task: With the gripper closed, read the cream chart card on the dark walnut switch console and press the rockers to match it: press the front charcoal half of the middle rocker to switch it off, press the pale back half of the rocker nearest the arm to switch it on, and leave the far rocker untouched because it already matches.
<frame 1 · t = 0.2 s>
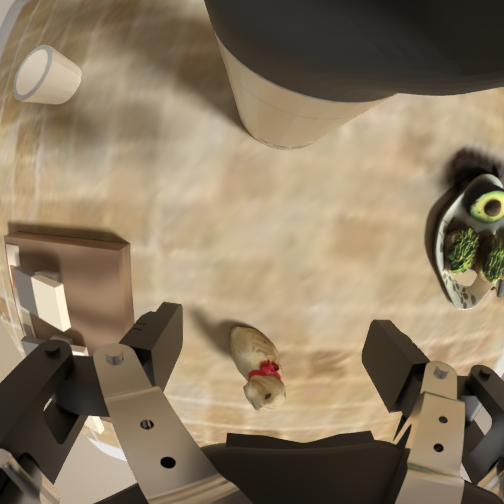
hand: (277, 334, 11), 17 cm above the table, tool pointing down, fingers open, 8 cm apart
chocolate bunny: (256, 349, 31), on the table
white tapered cup: (65, 84, 23), on the table
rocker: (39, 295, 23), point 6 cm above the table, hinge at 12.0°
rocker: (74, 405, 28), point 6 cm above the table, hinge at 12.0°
salad plate: (475, 237, 27), on the table
rocker mid: (57, 359, 26), point 6 cm above the table, hinge at -12.0°
switch console: (77, 336, 31), on the table
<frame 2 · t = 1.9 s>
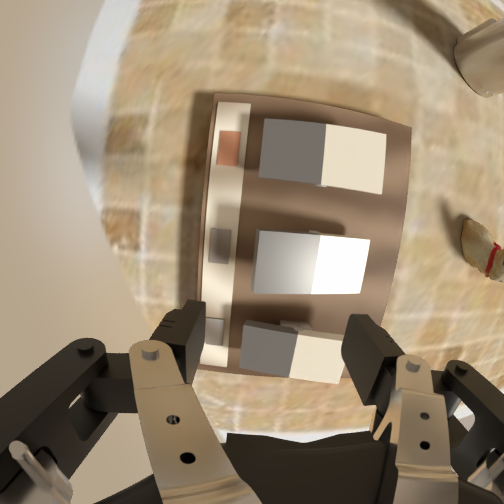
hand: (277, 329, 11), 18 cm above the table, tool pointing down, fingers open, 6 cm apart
chocolate bunny: (472, 245, 28), on the table
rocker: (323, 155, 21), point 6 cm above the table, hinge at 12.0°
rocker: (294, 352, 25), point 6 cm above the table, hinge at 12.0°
rocker mid: (312, 262, 23), point 6 cm above the table, hinge at -12.0°
switch console: (300, 247, 28), on the table
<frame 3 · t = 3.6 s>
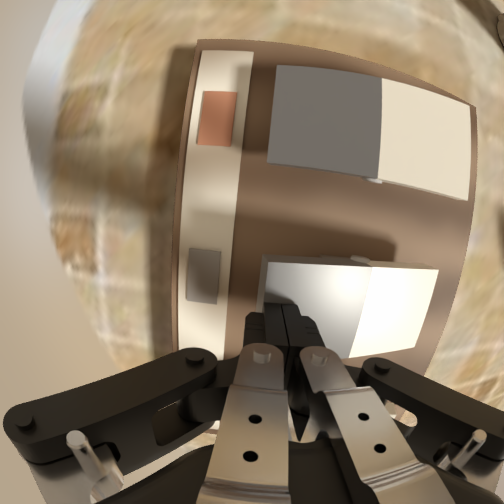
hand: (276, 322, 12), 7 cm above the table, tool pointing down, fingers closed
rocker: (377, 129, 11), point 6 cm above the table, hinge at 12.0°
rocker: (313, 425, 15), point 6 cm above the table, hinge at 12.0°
rocker mid: (353, 308, 13), point 6 cm above the table, hinge at -10.7°, touching gripper
switch console: (326, 273, 19), on the table
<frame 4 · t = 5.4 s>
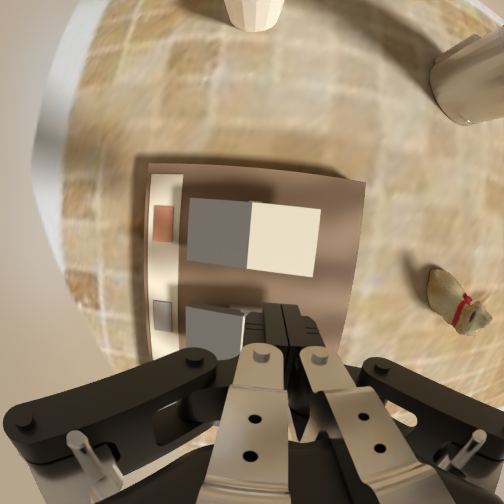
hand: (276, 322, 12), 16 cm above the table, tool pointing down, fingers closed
chocolate bunny: (440, 293, 29), on the table
white tapered cup: (253, 16, 22), on the table
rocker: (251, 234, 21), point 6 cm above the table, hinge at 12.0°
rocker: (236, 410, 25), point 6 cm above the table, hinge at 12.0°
rocker mid: (243, 338, 23), point 6 cm above the table, hinge at 11.0°
switch console: (245, 311, 29), on the table
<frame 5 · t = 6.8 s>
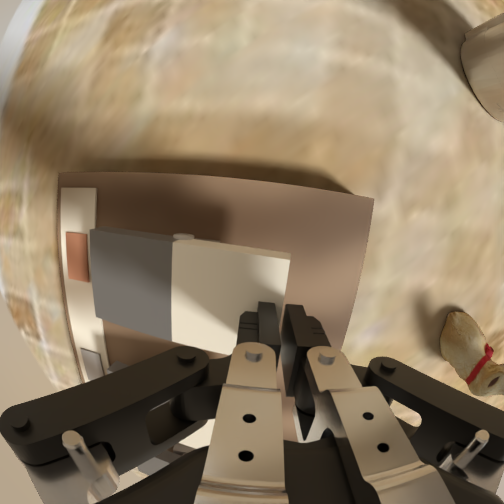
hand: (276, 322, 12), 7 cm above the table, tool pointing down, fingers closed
chocolate bunny: (455, 339, 21), on the table
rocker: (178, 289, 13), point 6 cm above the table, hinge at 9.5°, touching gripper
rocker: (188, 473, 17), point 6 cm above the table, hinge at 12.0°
rocker mid: (182, 414, 15), point 6 cm above the table, hinge at 11.5°
switch console: (197, 364, 21), on the table
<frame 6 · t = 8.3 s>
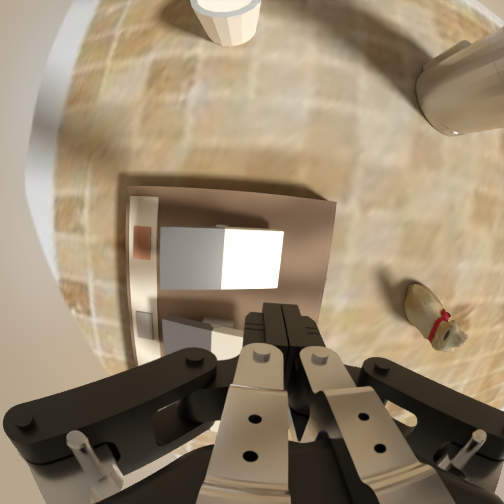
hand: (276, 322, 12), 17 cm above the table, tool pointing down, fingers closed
chocolate bunny: (419, 307, 30), on the table
white tapered cup: (231, 29, 23), on the table
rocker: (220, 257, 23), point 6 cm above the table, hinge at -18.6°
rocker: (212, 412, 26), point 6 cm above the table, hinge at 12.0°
rocker mid: (214, 349, 25), point 6 cm above the table, hinge at 11.5°
switch console: (221, 322, 30), on the table
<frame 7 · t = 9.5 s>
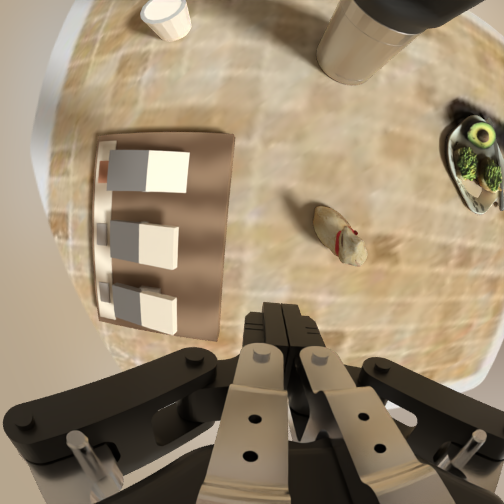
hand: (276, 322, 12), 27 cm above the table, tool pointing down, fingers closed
chocolate bunny: (332, 231, 38), on the table
white tapered cup: (174, 29, 31), on the table
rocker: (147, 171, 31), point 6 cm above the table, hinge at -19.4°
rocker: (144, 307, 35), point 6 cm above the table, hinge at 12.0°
salad plate: (474, 160, 35), on the table
rocker mid: (142, 242, 33), point 6 cm above the table, hinge at 11.5°
switch console: (158, 235, 38), on the table
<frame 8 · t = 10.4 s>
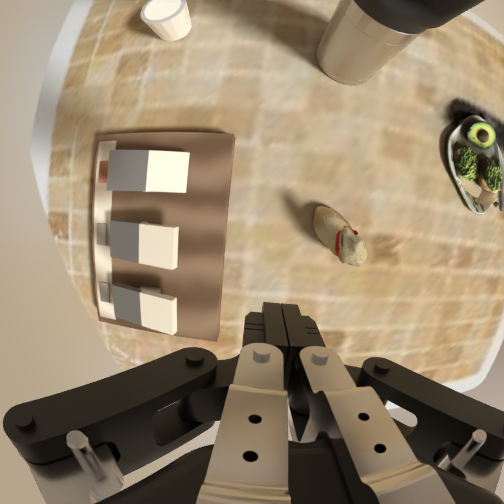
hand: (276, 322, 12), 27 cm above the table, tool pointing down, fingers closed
chocolate bunny: (332, 231, 38), on the table
white tapered cup: (174, 29, 31), on the table
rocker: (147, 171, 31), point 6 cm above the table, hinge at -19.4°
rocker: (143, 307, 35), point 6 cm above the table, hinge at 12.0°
salad plate: (474, 160, 35), on the table
rocker mid: (142, 242, 33), point 6 cm above the table, hinge at 11.5°
switch console: (158, 234, 38), on the table
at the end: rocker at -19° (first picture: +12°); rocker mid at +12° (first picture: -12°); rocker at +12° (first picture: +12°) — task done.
